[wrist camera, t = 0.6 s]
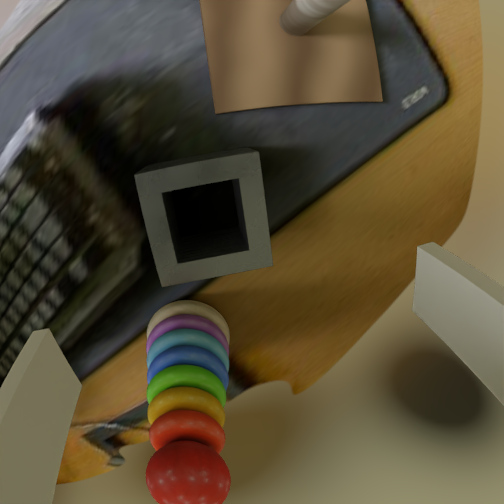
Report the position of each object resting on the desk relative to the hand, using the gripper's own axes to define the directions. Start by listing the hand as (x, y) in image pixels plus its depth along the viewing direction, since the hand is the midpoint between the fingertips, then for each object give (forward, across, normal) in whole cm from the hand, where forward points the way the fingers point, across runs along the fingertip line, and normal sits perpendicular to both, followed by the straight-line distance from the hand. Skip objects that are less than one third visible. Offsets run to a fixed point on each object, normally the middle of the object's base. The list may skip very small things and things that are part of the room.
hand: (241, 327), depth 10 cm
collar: (+17, -1, 0) cm, 17 cm away
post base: (+17, +9, +14) cm, 24 cm away
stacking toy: (+18, -5, -12) cm, 22 cm away
